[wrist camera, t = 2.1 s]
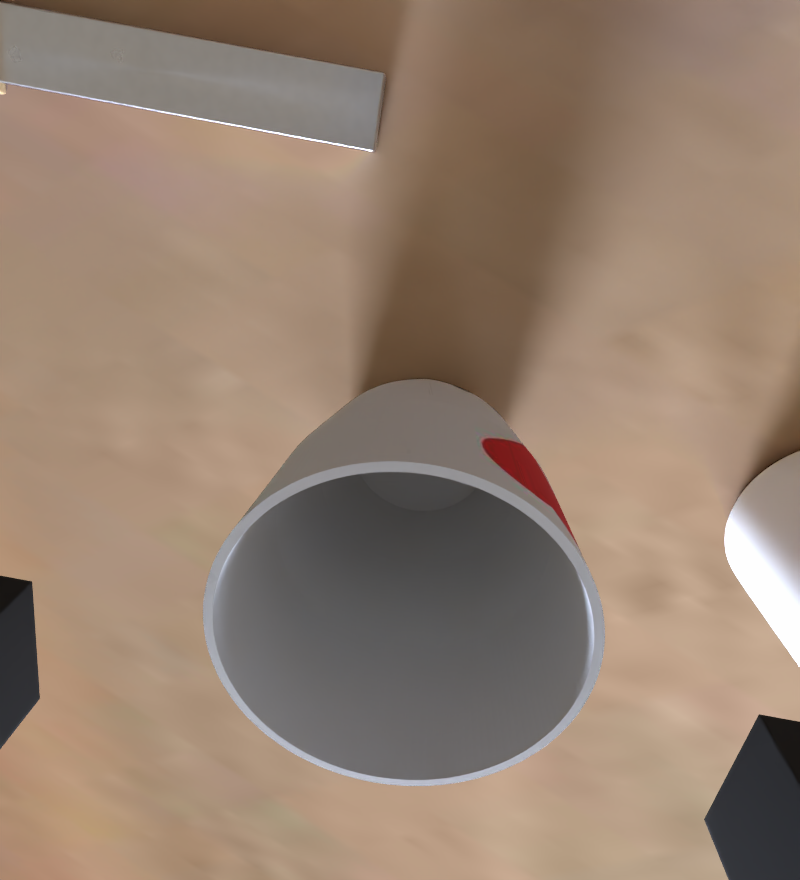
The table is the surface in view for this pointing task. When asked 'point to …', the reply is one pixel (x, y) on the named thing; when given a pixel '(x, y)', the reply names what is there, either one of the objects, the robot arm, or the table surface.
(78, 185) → the table surface
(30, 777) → the table surface
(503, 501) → the cup
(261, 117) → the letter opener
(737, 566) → the can
